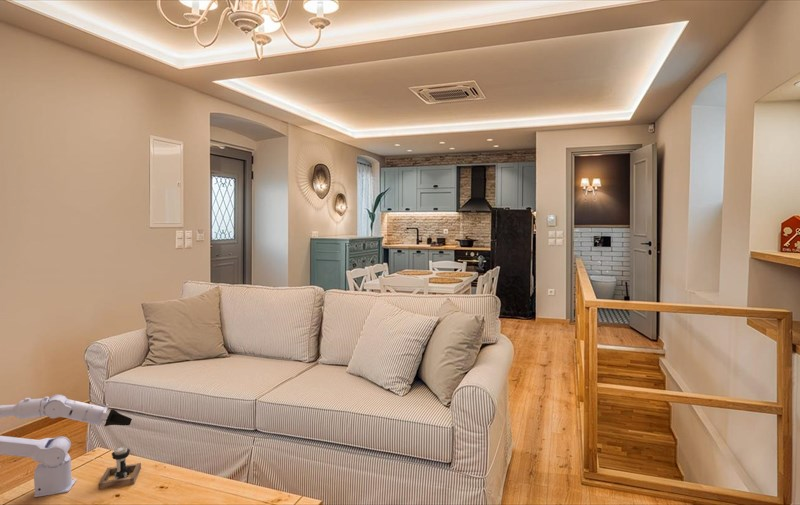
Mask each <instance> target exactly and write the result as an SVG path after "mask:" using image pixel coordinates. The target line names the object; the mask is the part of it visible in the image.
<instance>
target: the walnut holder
mask: <svg viewBox="0 0 800 505" xmlns="http://www.w3.org/2000/svg"><path fill="white" fill-rule="evenodd" d="M126 466H127V467H129V469H130V473H131V472H132V474H131V476H129V477H128V476H127V477H126V478H121V479H115V480H113V479H110V480H109V478H110V476H112V475H115V473H116V468H117V466H111V467H107V468H106V470H105V471H104V472H103V475H102V476H101V478H100V480H99V482H98V484H97V488H98V490H100V491H101V490H107V489H111V488H118V487H125V486H130V485H135V483H136V481H137V479H138V476H139V474H140V472H141V469H142V463H141V462H137V463H132V464H131V463H130V464H126Z"/></svg>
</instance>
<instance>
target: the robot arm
mask: <svg viewBox="0 0 800 505" xmlns="http://www.w3.org/2000/svg"><path fill="white" fill-rule="evenodd" d="M108 408H109V403H106V404H105V406H100V405H97V404H96V405H95V404H93V403H92V404H90V403H86V402H83V401H78V400H73V399H71V398H70V399H69V398H68V397H67V396H65V395H63V394H58V393H57V394H54V395H51V396H50V397H49V396H44V397H43V398H31V397H25V398H24V399H22V400H19V401H18V402H17V403H15V404H1V405H0V418H5V417H7V418H8V417H16V418H17V419H19V420H20V419H22V420H23V419H32V418H41V417H45V416H47V417H49V418H48V419H57V418H66V419H68V420H69V419H70V420H73V421H77V422H78V421H79V422H83V423H88V424H91V425H96V426H101V423H102V422H103V421H105V423H104V427H108V426H130V425H131V422H132V420H133V419H132V418H131V417H128V416H126V415H123V414H121V413H119V412H118V411H117V410H116V409H114V408H112V409H110V411H109V412H107V411H108ZM71 446H72V442H71V440H70V439H69V438H68V437H65V436H55V437H46V438H41V439H32V438H27V437H25V438H24V437H15V436H8V435H7V436H6V435H0V455H1V456H2V455H3V456H13V457H22V458H30V459H32V460H33V461H34V462H35V463H37V464H38V463H39V464H38V465H36V466H35V468H34V472H33V473H34V474H33V483H34V495H33V497H34V498H39V497H45V496H51V495H58V494H63V493H68V492H70V491H71V489H72V488H73V486H74V484H75V482H76V481H77V478H72V458H71V456H70V454H69V453H68V452H69V450H70V449H71Z"/></svg>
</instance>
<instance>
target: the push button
mask: <svg viewBox="0 0 800 505" xmlns="http://www.w3.org/2000/svg"><path fill="white" fill-rule="evenodd" d="M130 452H131V449H130V448H127V446H121V447H120V446H119V447H117V448H115V449H114V451H112V452H111V456H112V459H113V460H115V461H116V462H115V463H116V467H117V468H116V473H115V474H114V478H112V480H115V479H121V478H128V476H129V475H130V474H131V472H130V469H129V467H127V466H126V465H127V458H128V456H130Z"/></svg>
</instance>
